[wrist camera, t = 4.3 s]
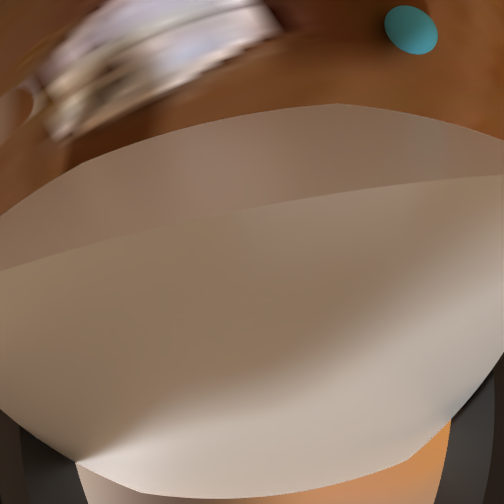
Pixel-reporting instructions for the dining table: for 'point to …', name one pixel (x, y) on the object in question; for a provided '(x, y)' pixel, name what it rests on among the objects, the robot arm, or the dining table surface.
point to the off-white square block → (256, 299)
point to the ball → (411, 29)
